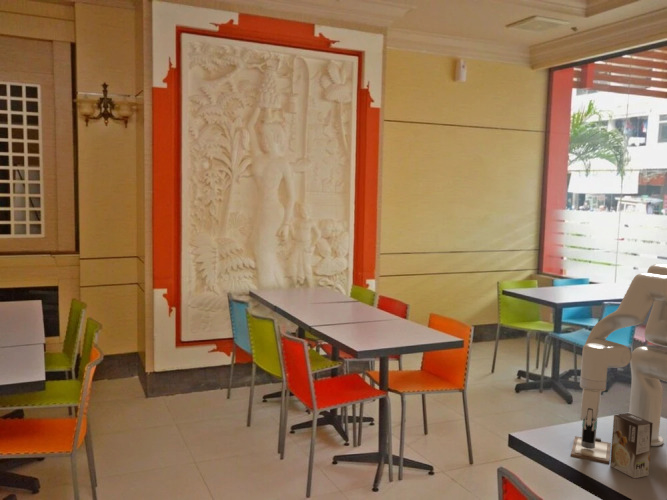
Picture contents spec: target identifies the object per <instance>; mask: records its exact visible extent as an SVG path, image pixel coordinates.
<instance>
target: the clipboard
mask: <svg viewBox="0 0 667 500" xmlns="http://www.w3.org/2000/svg"><path fill="white" fill-rule="evenodd" d="M581 441H582V436H581V437H580V436H577V435H576V436H574V439H573V442H572V443H573V444H572V448H571V452H570V457H574V458H578V459H584V460H589V461H594V462H598V463H605V464H608V465H610V460H611V449H612V442H607V441H602V438H601V437H596V438H595V448H593V449H588V448H584V447H582V446H581Z"/></svg>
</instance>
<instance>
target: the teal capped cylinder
mask: <svg viewBox="0 0 667 500" xmlns="http://www.w3.org/2000/svg"><path fill="white" fill-rule="evenodd" d="M592 421H593V419H592ZM581 424H582V425H581V426H582V428H581V437H582V441H581V446H582V447H584V448H588V449H593V448H595V438H597V437H596V436H597V428H598V427H597V426H598V421H597V422H594V431H595V432H594V443H588V442H583V429H584V426H585V419H584V420H583V419H582V423H581ZM591 424H592V423H591Z"/></svg>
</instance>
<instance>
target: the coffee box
mask: <svg viewBox="0 0 667 500" xmlns="http://www.w3.org/2000/svg"><path fill="white" fill-rule="evenodd" d="M612 421H613V424H612V439H611V448H610V461H609V466H610V467H611V468H613V469H616V470H618V471H619V472H621V473H623V474H625V475H627V476H629V477H631V478H633V479H639V478H644V477H648V476H649V473H650V461H651V460H650V459H651V449H652V446H651V438H652V425H653V423H652V422H649V421H647V420H644V419H642V418H640V417H637V416H635V415H632V414H630V413H629V412H624V413H618V414H614V415H613V420H612Z"/></svg>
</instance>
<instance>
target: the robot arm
mask: <svg viewBox="0 0 667 500" xmlns="http://www.w3.org/2000/svg"><path fill="white" fill-rule="evenodd" d="M649 312H650V313H649ZM648 314H649V315H648ZM647 316H649V317H648V319H647V323H646V326H645V329H644V338H645V340H646V341H647V342H648V343H651V344H652V345H656V346H660V347H664V348H667V264H665V263H656V264H652V265H650V266H649V268H648V269H647V271H646V272H641V273H638V274H636V275H635V276H634V278H632V281H631V283H630V284H629V287H628V288H627V290H626V291H625V294H624V296H623V299H622V300H621V301H620V304H619V305H618V308H617V309H616V310H615V311H613V312H611V313H609V314H608V315H605V316H604V317H603V318H601V320H599V321H598V322H597V323H596V324H595V325H594V326H593V327H592V329H591V331H590V333H589V335H588V336H587V338H586V341H585V343H584V345H583V346H582V354H581V364H580V365H581V367H580V376H579V377H580V379H579V387H580V388H581V389H582V392H581V393H582V394H581V404H580V405H581V406H580V416H579V420H581V421H583V420H584V419H585V426H584V429H583V442H588V443H594V432H595V431H594V422H597V423H598V418H599V417H598V416H599V413H600V406H601V397H602V392H604V391H606V390H607V378H608V368H615V369H618V368H624V367H626V366H628V365H629V364H630V370H631V386H630V397H629V399H630V400H629V407H628V408H629V411H628V413H630V414H632V415H635V416H637V417H640V418H642V419H644V420H647V421H649V422H652V423H653V425H652V438H651V447H658V446H662V445H663V444H664V438H663V437H662V436H661V435H660V427H661V425H660V424H661V416H662V415H661V414H662V406H663V405H662V404H663V393H664V390H663V386H662V383H661V381H663V382H666V383H667V351H666V350H663V349H659V348H655V347H651V346H645V345H644V346H638V347H636V348H634V350H633V351H631V349H630V348H629V347H628V346H626V345H624V344H621V343H618V342H614V341H612V340H608V339H607V338H608V337H609V336H610V335H611V334H612V333H614V332H615V331H617V330H620V329H623V328H624V329H625V328H630V327H633V326H638V325H640V324H643V323H644V322H645V320H646V318H647ZM592 419H593V421H592ZM591 423H592V424H591Z"/></svg>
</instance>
